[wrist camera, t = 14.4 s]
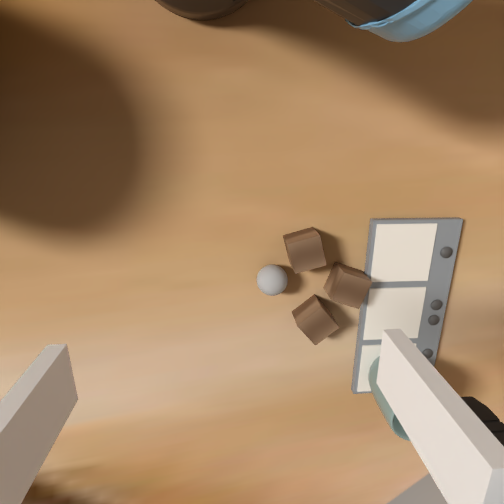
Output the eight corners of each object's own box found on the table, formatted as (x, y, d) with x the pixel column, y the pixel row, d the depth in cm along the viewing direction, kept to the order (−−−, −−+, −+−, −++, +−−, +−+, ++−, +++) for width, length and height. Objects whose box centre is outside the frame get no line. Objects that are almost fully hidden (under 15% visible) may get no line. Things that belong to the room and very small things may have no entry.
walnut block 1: (282, 235, 47) (287, 244, 43) (312, 226, 47) (320, 235, 43) (289, 262, 48) (295, 273, 44) (318, 254, 48) (326, 265, 44)
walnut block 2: (291, 311, 50) (297, 325, 46) (314, 294, 50) (321, 307, 46) (308, 329, 51) (315, 345, 48) (330, 313, 51) (339, 327, 47)
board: (370, 218, 47) (374, 220, 45) (458, 217, 47) (464, 219, 46) (351, 389, 55) (353, 394, 54) (426, 385, 56) (430, 391, 55)
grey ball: (255, 260, 47) (258, 271, 44) (285, 259, 48) (290, 271, 44) (255, 288, 49) (257, 301, 45) (284, 287, 49) (289, 300, 45)
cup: (422, 355, 53) (466, 404, 43) (393, 394, 55) (428, 449, 45) (379, 335, 51) (415, 382, 42) (351, 377, 53) (378, 430, 44)
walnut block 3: (335, 261, 48) (344, 272, 45) (361, 270, 49) (372, 281, 45) (323, 287, 49) (331, 300, 46) (348, 295, 50) (359, 308, 46)
